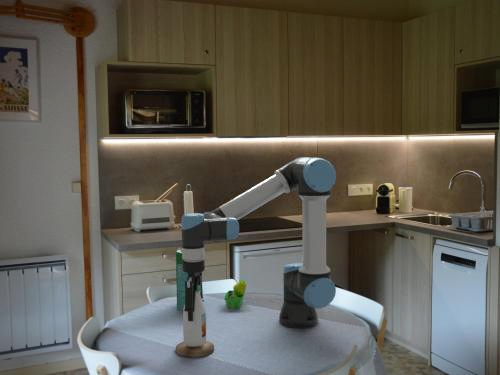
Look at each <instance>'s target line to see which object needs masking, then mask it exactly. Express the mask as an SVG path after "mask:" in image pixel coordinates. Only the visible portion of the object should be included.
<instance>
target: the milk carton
mask: <svg viewBox="0 0 500 375" xmlns="http://www.w3.org/2000/svg"><path fill="white" fill-rule="evenodd" d="M181 250H182V247H178V248H177V250H176V251H175V265H176V266H175V270H176V271H175V276H176V277H175V278H176V280H175V281H176V310H177V311H178V310H179V311H181V310H182V311H183V309H184V305H185V281H187V277H188V273H185V272H183V270H182V261H183V260H184V259H182V252H181Z"/></svg>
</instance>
